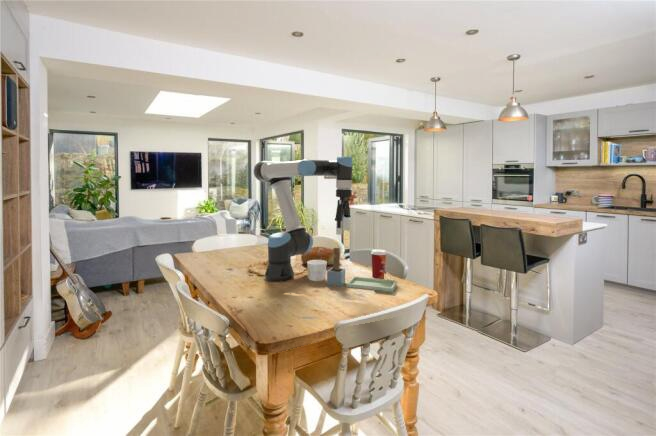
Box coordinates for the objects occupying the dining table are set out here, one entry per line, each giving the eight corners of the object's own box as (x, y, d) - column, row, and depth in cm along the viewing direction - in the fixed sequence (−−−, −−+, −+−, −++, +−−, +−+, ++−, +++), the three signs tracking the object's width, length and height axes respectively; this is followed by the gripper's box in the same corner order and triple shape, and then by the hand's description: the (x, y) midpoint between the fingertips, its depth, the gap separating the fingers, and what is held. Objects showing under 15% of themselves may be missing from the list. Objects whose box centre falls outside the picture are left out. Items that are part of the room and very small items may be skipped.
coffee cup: (385, 281, 202) (386, 252, 200) (369, 280, 203) (370, 251, 201) (386, 277, 210) (387, 249, 208) (371, 276, 211) (371, 248, 210)
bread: (339, 268, 228) (340, 251, 227) (299, 268, 228) (299, 251, 227) (339, 259, 251) (339, 244, 250) (302, 259, 251) (302, 243, 250)
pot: (327, 287, 191) (327, 271, 190) (331, 283, 197) (331, 267, 196) (341, 288, 188) (341, 272, 187) (345, 284, 195) (345, 268, 194)
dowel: (332, 284, 192) (332, 248, 190) (334, 282, 195) (334, 247, 192) (338, 284, 191) (338, 248, 189) (340, 283, 194) (340, 247, 192)
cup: (329, 279, 204) (329, 261, 203) (321, 284, 195) (321, 265, 194) (312, 277, 208) (312, 259, 207) (303, 282, 199) (303, 263, 198)
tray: (346, 288, 188) (346, 283, 188) (353, 281, 201) (353, 276, 201) (392, 293, 181) (392, 288, 181) (396, 285, 195) (396, 280, 194)
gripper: (345, 190, 176) (344, 237, 179) (356, 187, 200) (355, 229, 203) (329, 189, 178) (328, 235, 181) (342, 187, 202) (341, 228, 205)
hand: (342, 232), depth 192 cm, fingers open, 13 cm apart
